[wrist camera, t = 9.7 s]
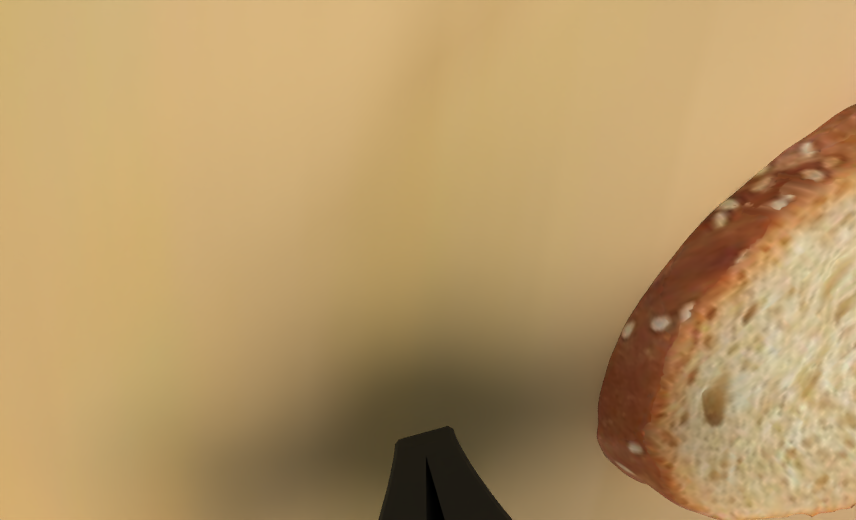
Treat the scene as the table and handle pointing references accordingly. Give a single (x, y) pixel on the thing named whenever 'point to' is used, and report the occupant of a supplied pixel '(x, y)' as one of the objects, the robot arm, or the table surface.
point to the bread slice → (750, 348)
